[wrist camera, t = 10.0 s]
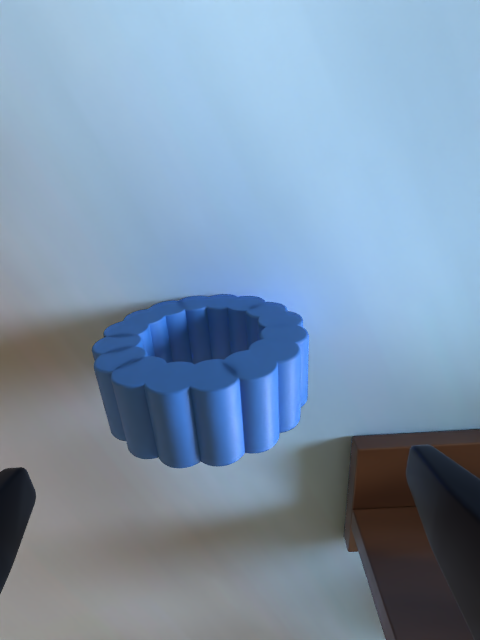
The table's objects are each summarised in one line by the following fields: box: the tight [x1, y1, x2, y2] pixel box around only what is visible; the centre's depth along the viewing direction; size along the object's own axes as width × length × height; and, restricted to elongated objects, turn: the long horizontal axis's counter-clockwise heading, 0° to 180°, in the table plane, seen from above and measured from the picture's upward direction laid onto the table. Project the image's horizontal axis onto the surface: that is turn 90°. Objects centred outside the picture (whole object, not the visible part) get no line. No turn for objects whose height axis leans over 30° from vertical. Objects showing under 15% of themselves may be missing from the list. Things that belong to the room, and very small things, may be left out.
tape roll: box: [92, 294, 309, 468], centre depth 13 cm, size 3×7×7 cm, turn 93°
